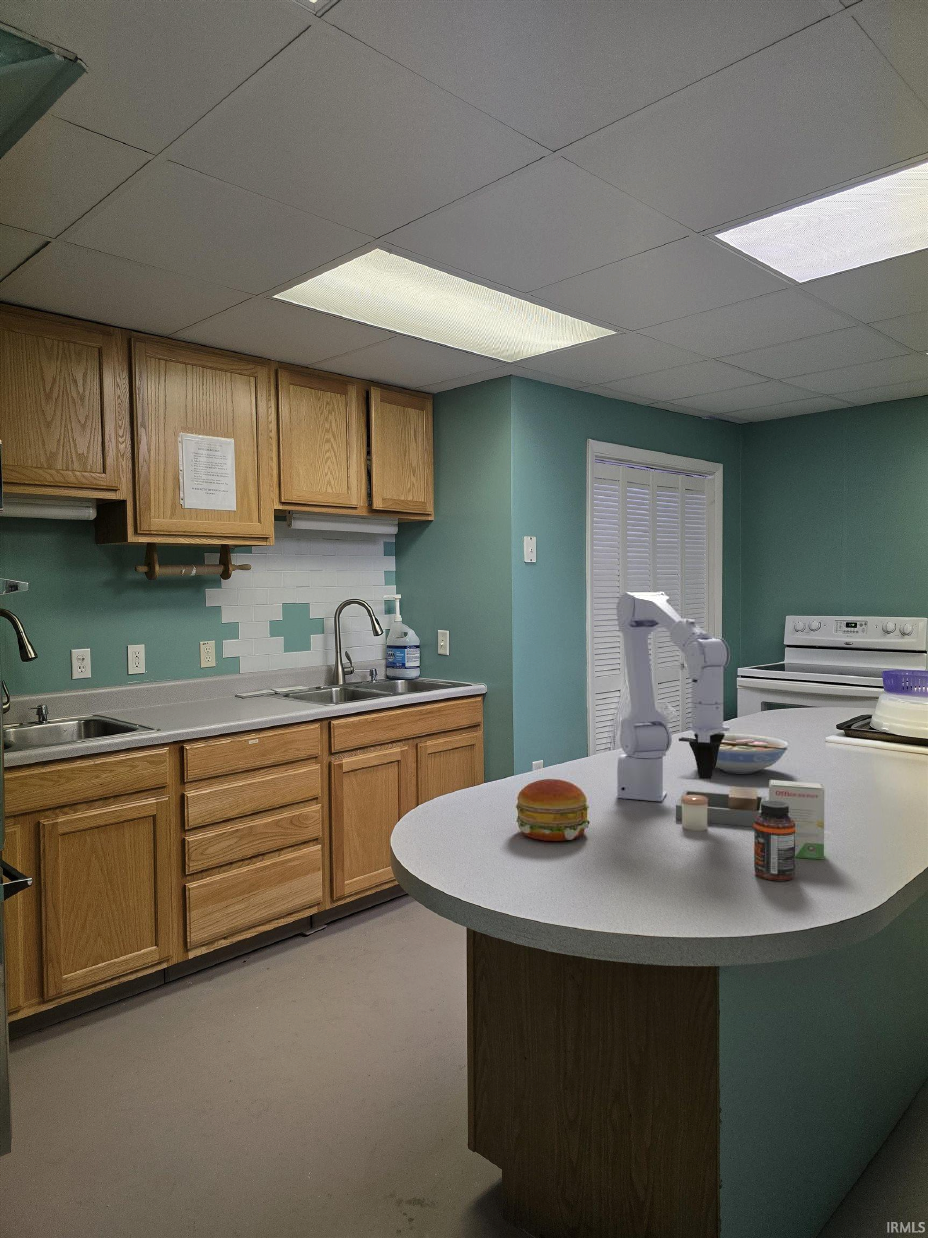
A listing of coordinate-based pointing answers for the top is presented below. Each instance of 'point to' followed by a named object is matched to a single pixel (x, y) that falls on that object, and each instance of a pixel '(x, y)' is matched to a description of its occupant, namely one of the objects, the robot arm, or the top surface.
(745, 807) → the block
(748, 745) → the ramen bowl
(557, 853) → the top surface
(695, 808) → the jar
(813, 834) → the ink box
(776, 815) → the supplement bottle
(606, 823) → the top surface
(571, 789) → the burger
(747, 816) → the tote
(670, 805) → the top surface
